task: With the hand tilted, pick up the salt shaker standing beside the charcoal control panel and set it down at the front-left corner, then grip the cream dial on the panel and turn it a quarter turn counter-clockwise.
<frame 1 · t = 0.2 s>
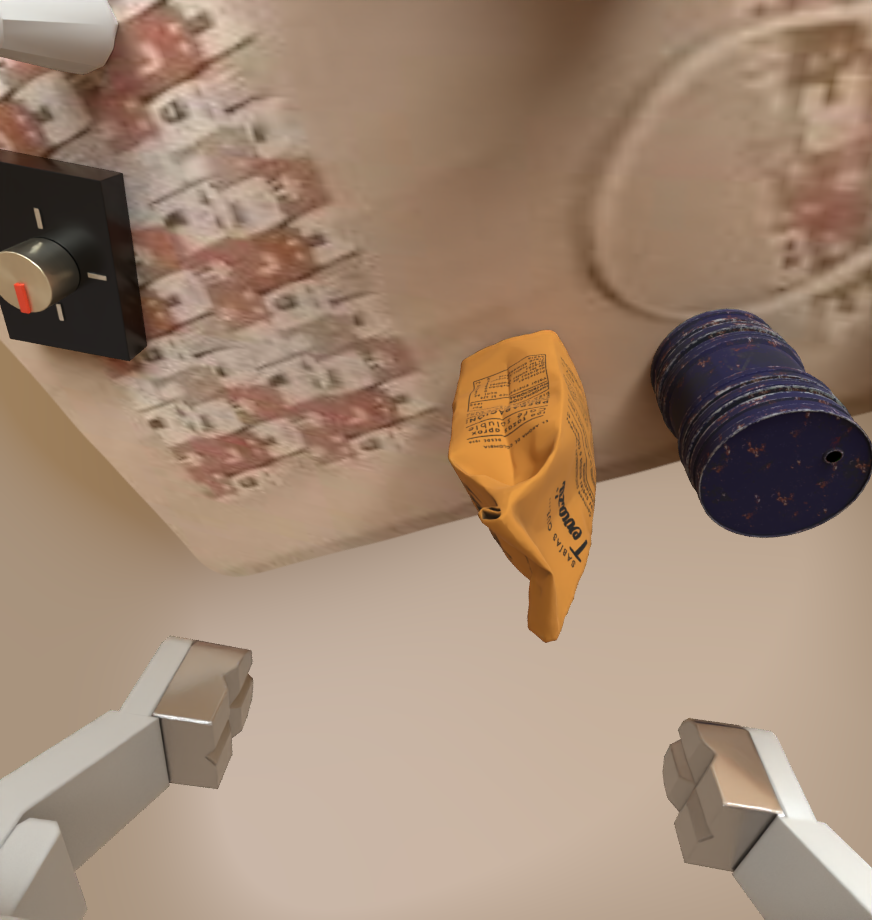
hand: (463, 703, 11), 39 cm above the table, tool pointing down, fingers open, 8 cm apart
salt shaker: (87, 18, 38), on the table
storage jar: (712, 364, 48), on the table
dial: (34, 275, 43), point 5 cm above the table, hinge at 0.0°
coffee package: (524, 396, 51), on the table
timer panel: (74, 255, 47), on the table
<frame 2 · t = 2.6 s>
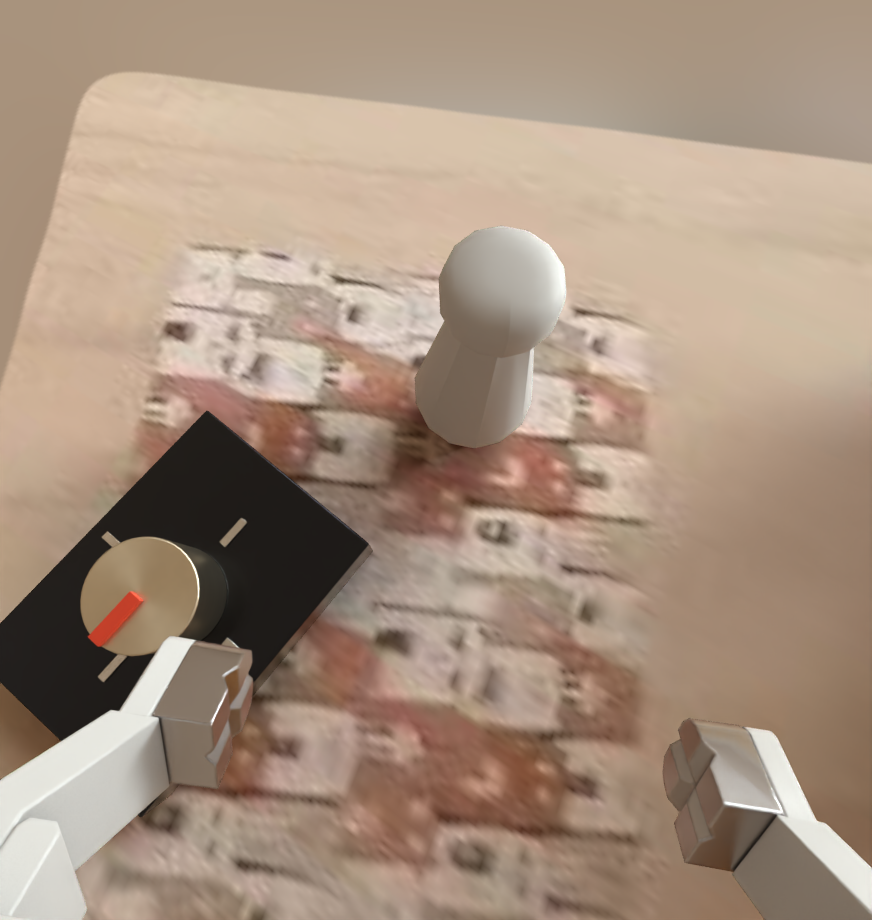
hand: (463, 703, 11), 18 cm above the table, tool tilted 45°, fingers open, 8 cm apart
salt shaker: (468, 407, 32), on the table
dial: (157, 595, 24), point 5 cm above the table, hinge at 0.0°
timer panel: (200, 598, 28), on the table
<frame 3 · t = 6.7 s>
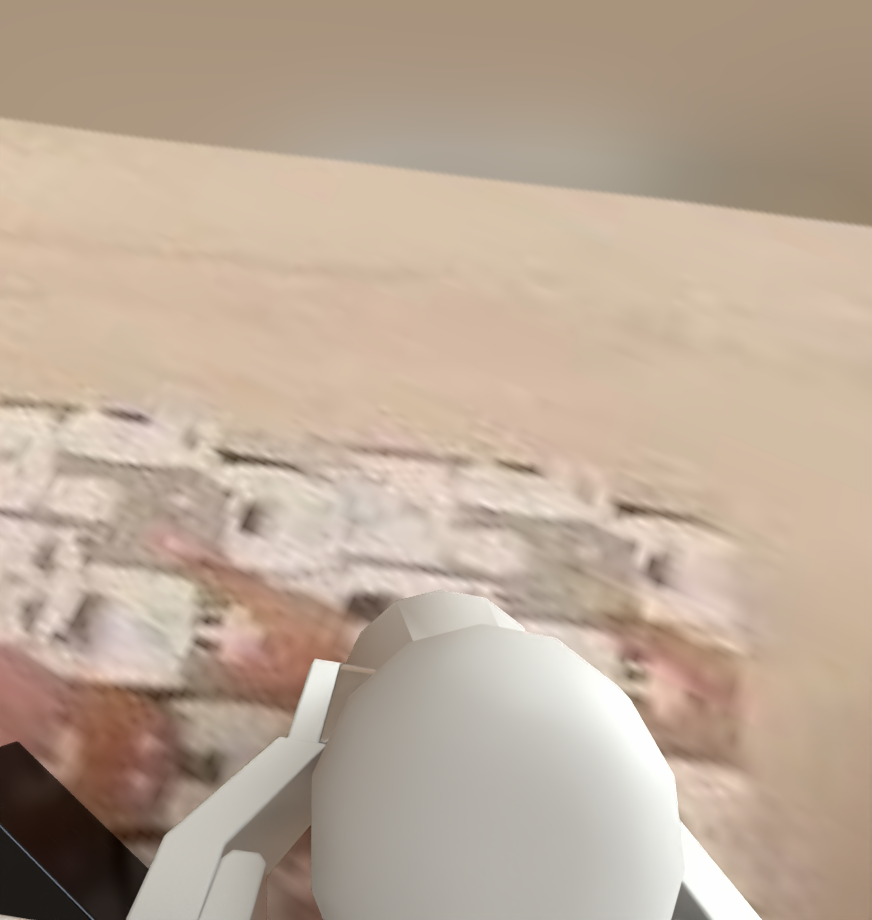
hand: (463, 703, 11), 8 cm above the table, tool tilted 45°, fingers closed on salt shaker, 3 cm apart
salt shaker: (440, 687, 19), on the table, touching gripper
when the fingers open (8 cm above the table, at t = 14.3 s): salt shaker stays where it is, on the table.
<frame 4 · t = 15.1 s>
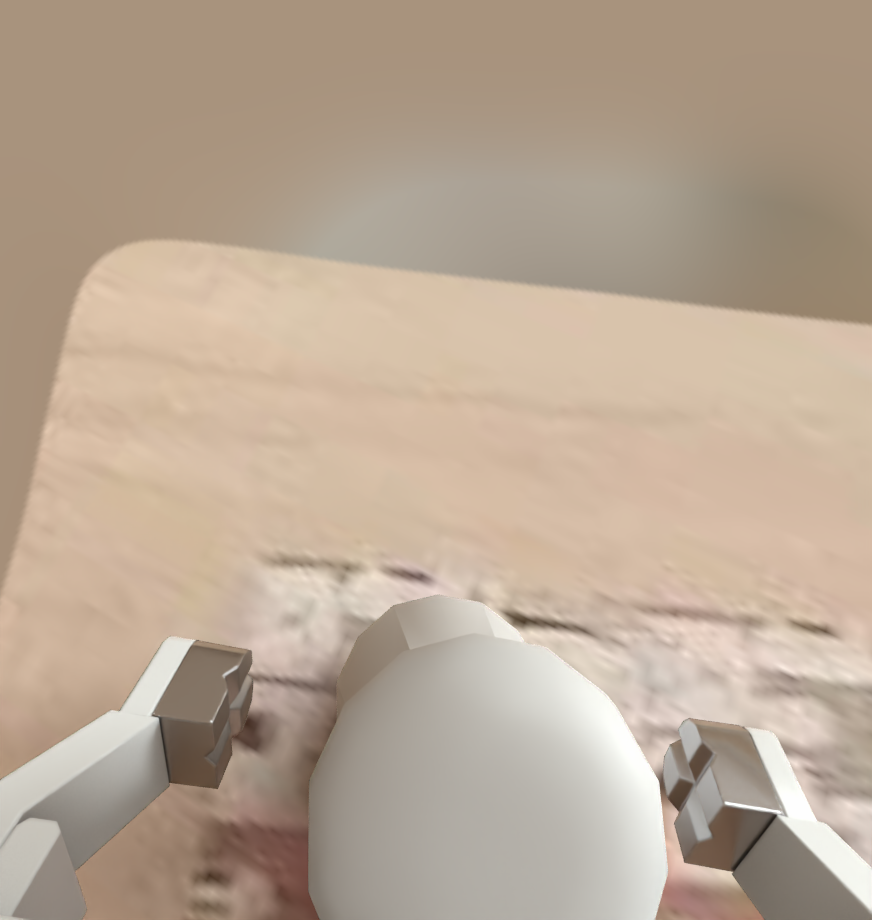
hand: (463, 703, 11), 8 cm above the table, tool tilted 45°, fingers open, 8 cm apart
salt shaker: (437, 690, 19), on the table
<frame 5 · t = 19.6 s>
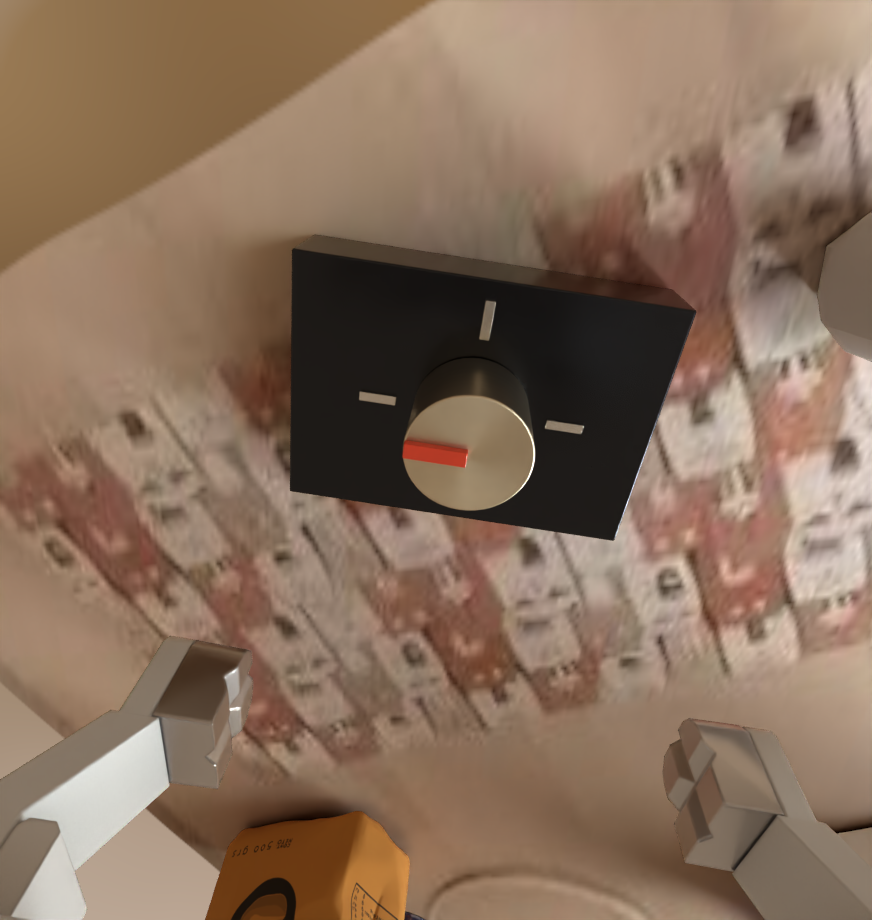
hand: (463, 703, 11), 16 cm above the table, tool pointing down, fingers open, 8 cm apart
dial: (469, 434, 21), point 5 cm above the table, hinge at 0.0°
coffee package: (324, 835, 44), on the table
timer panel: (472, 381, 25), on the table
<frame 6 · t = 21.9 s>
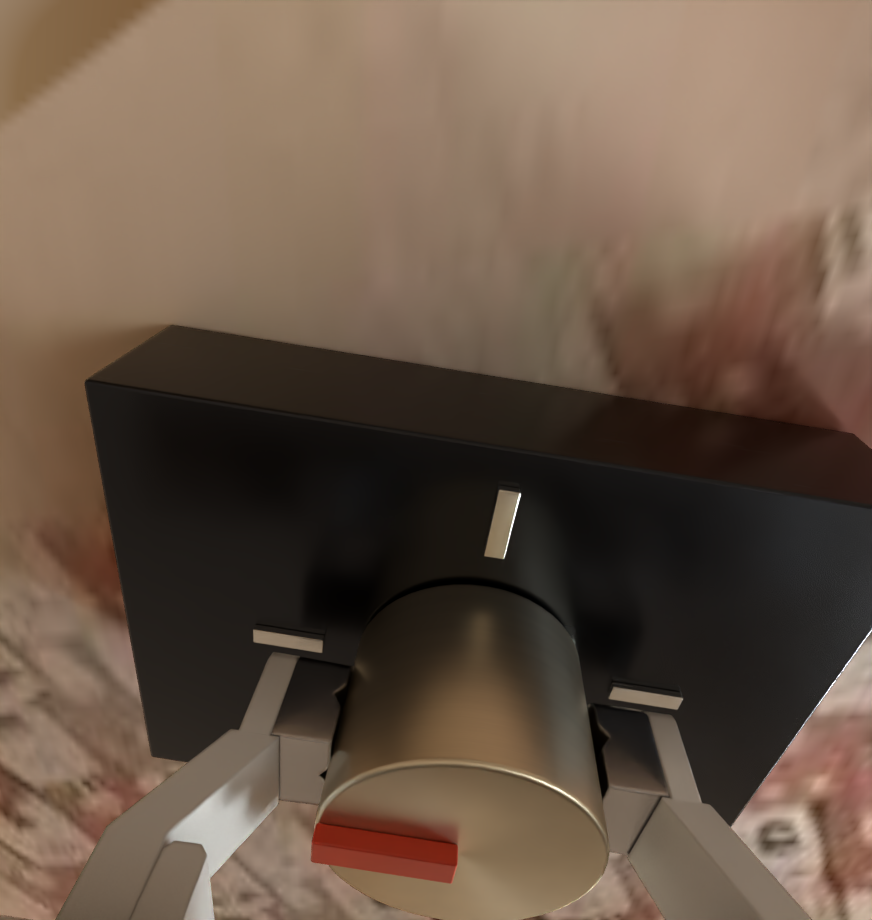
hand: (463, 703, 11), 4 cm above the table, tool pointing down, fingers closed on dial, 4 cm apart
dial: (463, 754, 10), point 5 cm above the table, hinge at 0.4°, touching gripper
timer panel: (471, 566, 14), on the table
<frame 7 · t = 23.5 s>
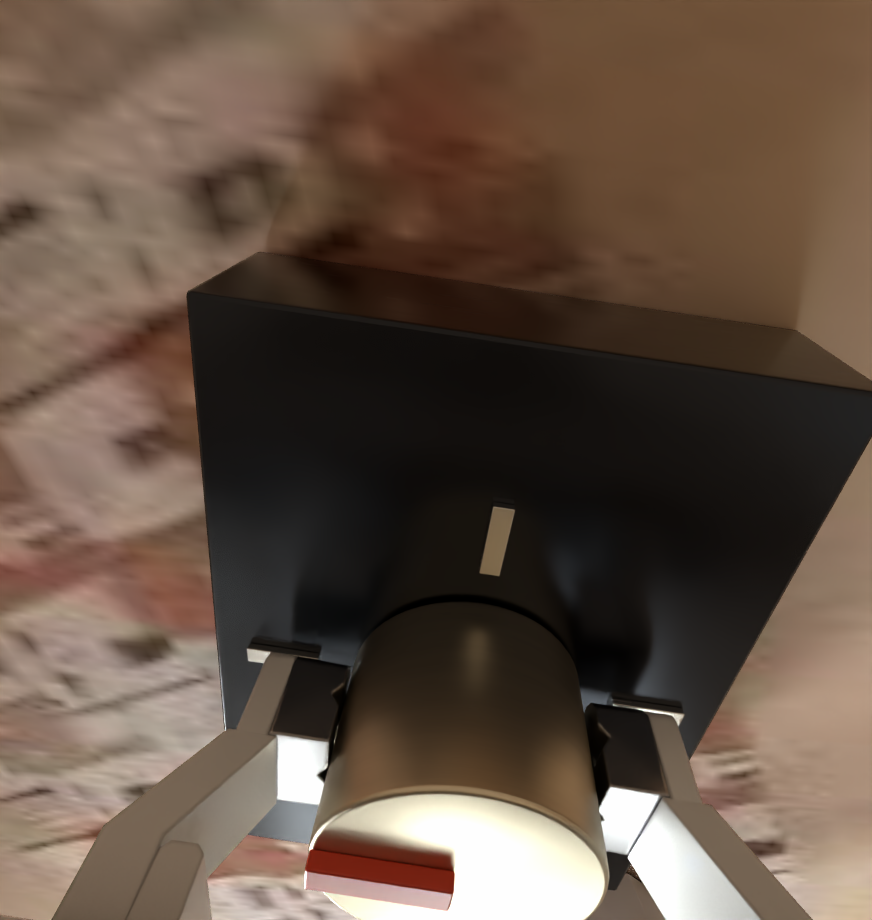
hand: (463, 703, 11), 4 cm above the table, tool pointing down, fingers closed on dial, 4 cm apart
salt shaker: (600, 894, 21), on the table
dial: (460, 775, 10), point 5 cm above the table, hinge at 89.6°, touching gripper
timer panel: (469, 579, 14), on the table
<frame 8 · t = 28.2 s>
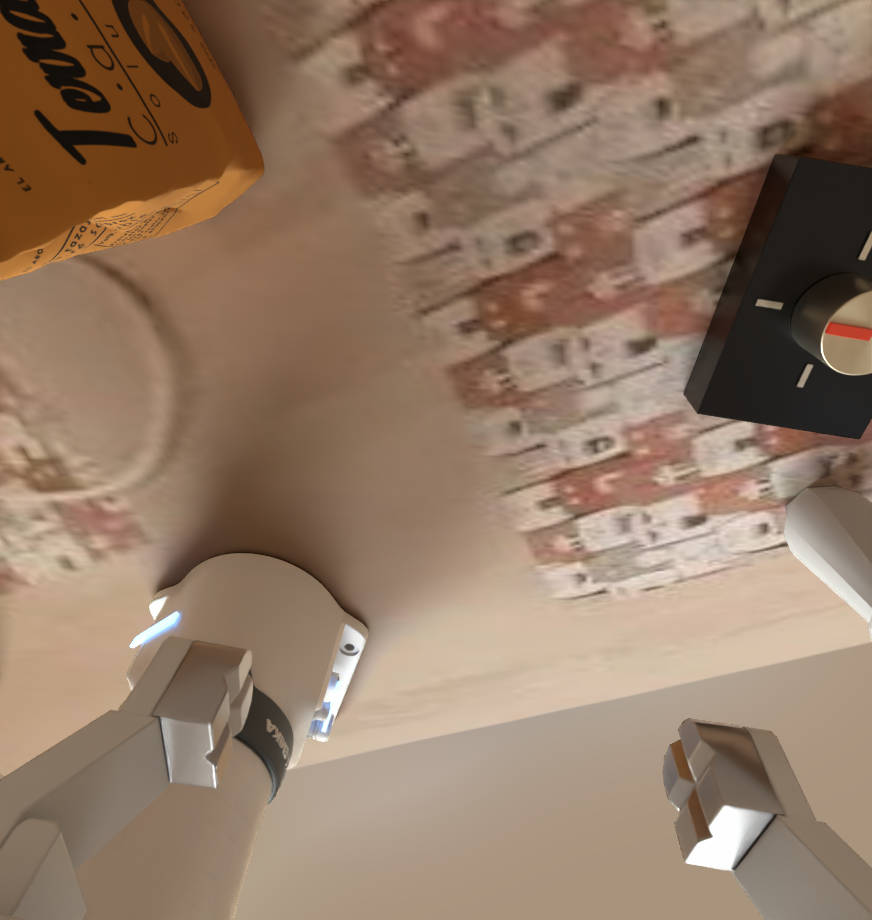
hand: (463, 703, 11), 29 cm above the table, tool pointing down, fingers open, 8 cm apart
salt shaker: (814, 507, 42), on the table
dial: (852, 324, 30), point 5 cm above the table, hinge at 89.4°
coffee package: (163, 99, 32), on the table
timer panel: (807, 299, 35), on the table
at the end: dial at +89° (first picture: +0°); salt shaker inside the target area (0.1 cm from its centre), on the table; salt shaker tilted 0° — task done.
